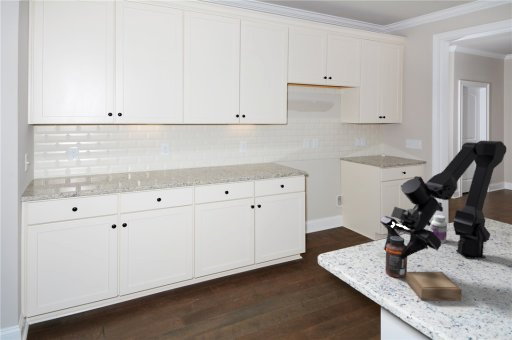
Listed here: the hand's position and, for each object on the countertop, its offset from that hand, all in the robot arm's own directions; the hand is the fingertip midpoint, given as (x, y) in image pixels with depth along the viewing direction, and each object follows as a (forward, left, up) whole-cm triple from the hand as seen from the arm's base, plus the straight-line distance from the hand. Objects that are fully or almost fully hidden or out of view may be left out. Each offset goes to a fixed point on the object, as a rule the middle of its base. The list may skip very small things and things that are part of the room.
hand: (392, 253), depth 99 cm
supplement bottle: (-1, -1, -7) cm, 7 cm away
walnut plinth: (-7, +9, -7) cm, 14 cm away
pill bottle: (-27, -29, -7) cm, 40 cm away
